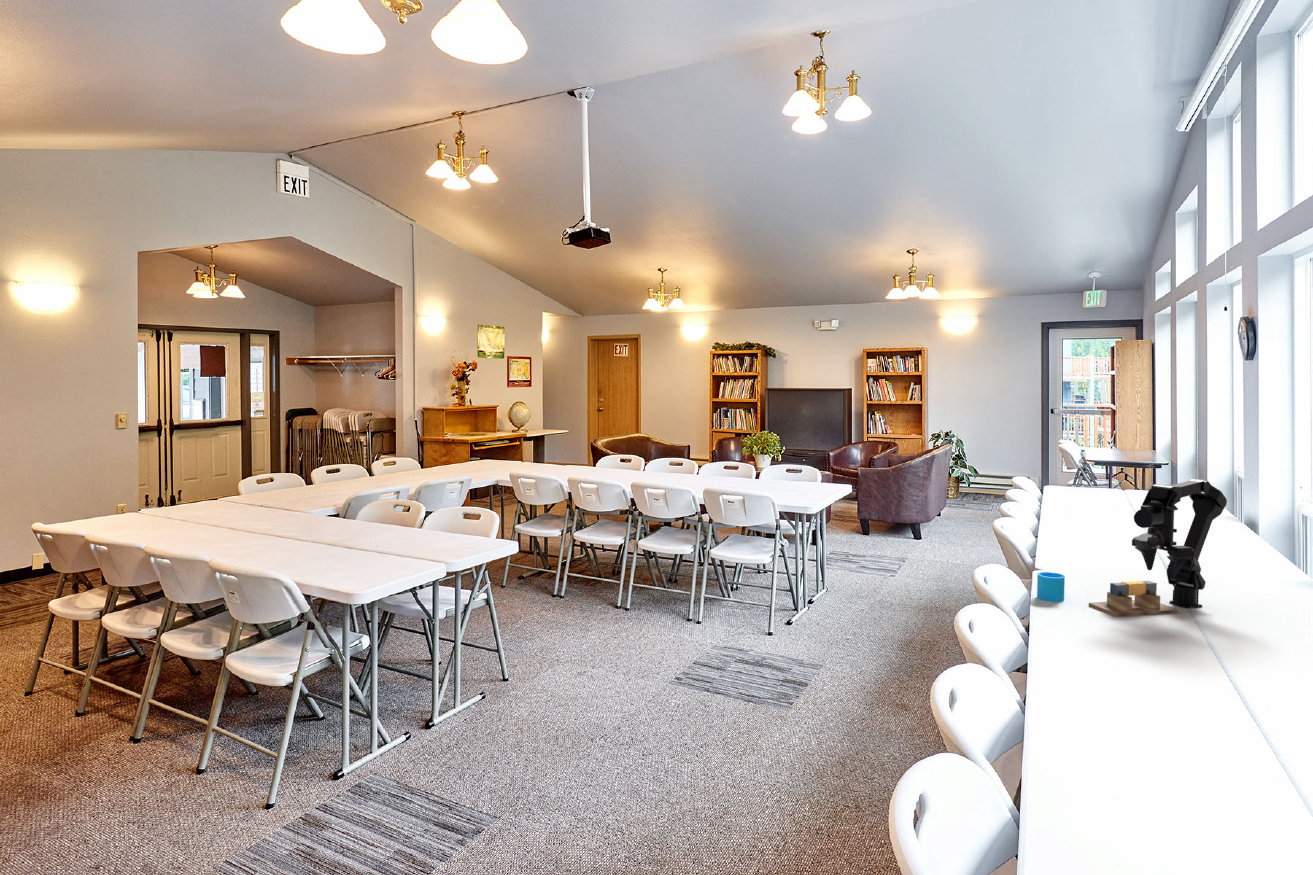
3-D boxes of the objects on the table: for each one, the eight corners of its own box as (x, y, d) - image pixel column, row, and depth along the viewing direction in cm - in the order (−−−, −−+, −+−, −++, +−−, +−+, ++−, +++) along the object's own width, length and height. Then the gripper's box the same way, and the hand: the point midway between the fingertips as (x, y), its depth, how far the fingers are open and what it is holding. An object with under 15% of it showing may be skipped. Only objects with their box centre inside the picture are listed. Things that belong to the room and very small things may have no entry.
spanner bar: (1148, 591, 243) (1149, 580, 243) (1156, 593, 240) (1157, 582, 240) (1109, 593, 241) (1110, 582, 241) (1117, 596, 238) (1117, 584, 238)
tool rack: (1148, 601, 249) (1149, 583, 248) (1179, 612, 237) (1179, 593, 236) (1088, 605, 245) (1089, 587, 245) (1116, 616, 234) (1116, 597, 233)
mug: (1059, 603, 248) (1060, 579, 248) (1033, 599, 254) (1034, 575, 254) (1070, 596, 257) (1071, 572, 256) (1045, 591, 263) (1045, 568, 262)
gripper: (1117, 520, 245) (1116, 567, 246) (1164, 531, 227) (1162, 582, 228) (1148, 519, 247) (1146, 566, 248) (1196, 530, 228) (1194, 580, 230)
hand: (1161, 573), depth 238 cm, fingers open, 9 cm apart
